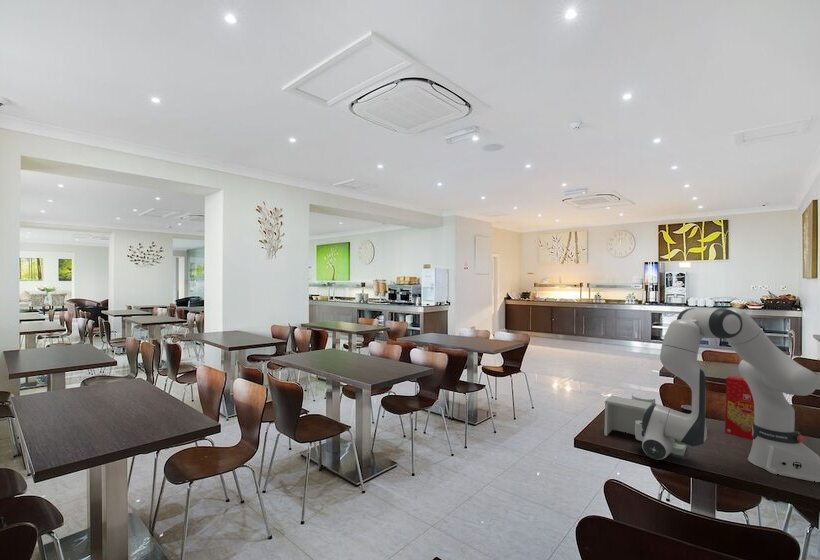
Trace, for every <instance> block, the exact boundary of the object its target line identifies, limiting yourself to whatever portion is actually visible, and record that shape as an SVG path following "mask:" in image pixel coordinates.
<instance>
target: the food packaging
mask: <svg viewBox="0 0 820 560" xmlns="http://www.w3.org/2000/svg"><path fill="white" fill-rule="evenodd" d="M725 382H726V384H725V417H724V418H725V419H724V434H725V433H726V434H727V435H729V434H731V435H730V436H733V435H735V436H734V437H738V438H743V439H745V440H750V441H753V436H752V426H753V423H754V400H753V397H752V394H751V391H750V388H749V386H748V384H747V383H746V381H745V380H744V379H743V378H742V377H738V376H737V377H736V376H731V375H729V376H727V377H726V381H725Z"/></svg>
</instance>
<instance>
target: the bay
mask: <svg viewBox="0 0 820 560" xmlns="http://www.w3.org/2000/svg"><path fill="white" fill-rule="evenodd" d="M650 406H652V403H649V402H644V401H639V400H633V399H632V398H626V397H622V396H616V395H610V396H609V397H608V398H607V399H605V400H604V432H603V433H604V434H603V435H604V436H606V437H607V436H608V435H609V434H610V433H611V432H612V431H617V432H622V433H625V432H626V433H627V434H629V435H630V434H631V435H634V436H635V421H636V420H640V421H642V420H643V417H644V414H645V412H646V410H647V409H648V407H650Z"/></svg>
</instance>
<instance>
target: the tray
mask: <svg viewBox="0 0 820 560" xmlns="http://www.w3.org/2000/svg"><path fill="white" fill-rule="evenodd" d="M687 448H688V446H685V445H681V444H677V446H676V447H673V448H672V450H671V452H670V454H673V455H676V456H677V455H678V456H681V457H684V456H685V453H686V451H687Z"/></svg>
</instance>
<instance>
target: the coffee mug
mask: <svg viewBox="0 0 820 560" xmlns="http://www.w3.org/2000/svg"><path fill="white" fill-rule="evenodd" d="M680 409H681V410H680ZM680 409H675V410H676V411H679V412H682V413H686V414H691V413H692V405H691V404H690V405H688V404H685V405H684V404H682V405H681V406H680Z"/></svg>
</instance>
